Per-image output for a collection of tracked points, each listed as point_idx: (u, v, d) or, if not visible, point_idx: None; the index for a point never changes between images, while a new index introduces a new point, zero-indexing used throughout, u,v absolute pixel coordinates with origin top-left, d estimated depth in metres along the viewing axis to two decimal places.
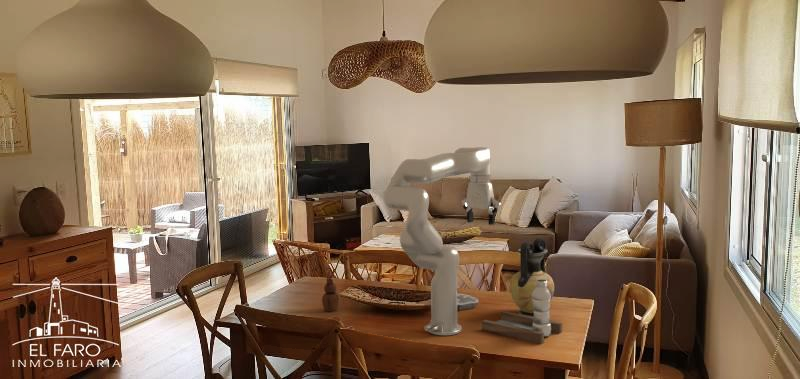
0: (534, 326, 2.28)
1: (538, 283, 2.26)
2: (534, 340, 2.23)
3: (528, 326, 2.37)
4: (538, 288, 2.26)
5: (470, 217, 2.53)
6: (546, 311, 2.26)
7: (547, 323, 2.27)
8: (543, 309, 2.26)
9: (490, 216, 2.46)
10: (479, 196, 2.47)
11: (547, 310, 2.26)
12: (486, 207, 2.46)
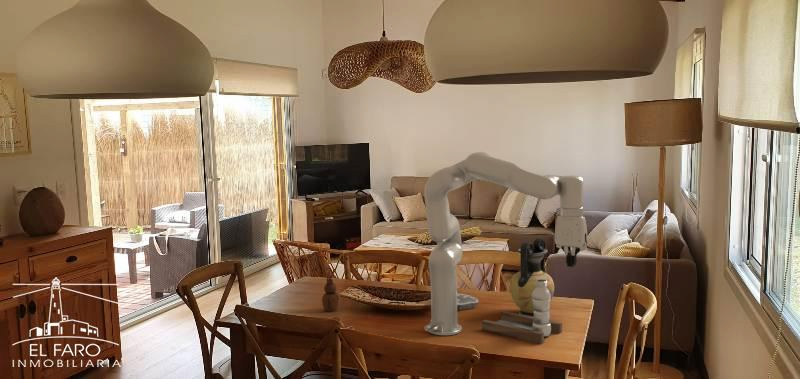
0: (534, 326, 2.28)
1: (538, 283, 2.26)
2: (534, 340, 2.23)
3: (528, 326, 2.37)
4: (538, 288, 2.26)
5: None
6: (546, 311, 2.26)
7: (547, 323, 2.27)
8: (543, 309, 2.26)
9: (571, 257, 2.18)
10: (571, 232, 2.15)
11: (547, 310, 2.26)
12: (579, 245, 2.14)
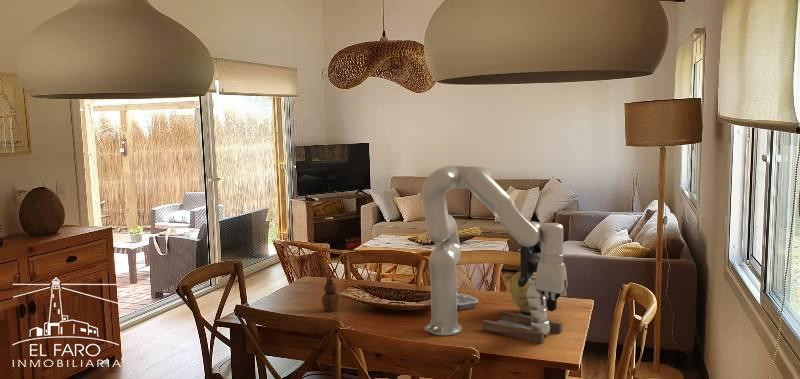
0: (532, 325, 2.28)
1: (531, 281, 2.28)
2: (534, 340, 2.23)
3: (528, 326, 2.37)
4: (531, 286, 2.28)
5: None
6: (542, 308, 2.27)
7: (545, 320, 2.27)
8: (539, 307, 2.27)
9: (552, 302, 2.24)
10: (551, 278, 2.21)
11: (543, 307, 2.27)
12: (559, 291, 2.20)
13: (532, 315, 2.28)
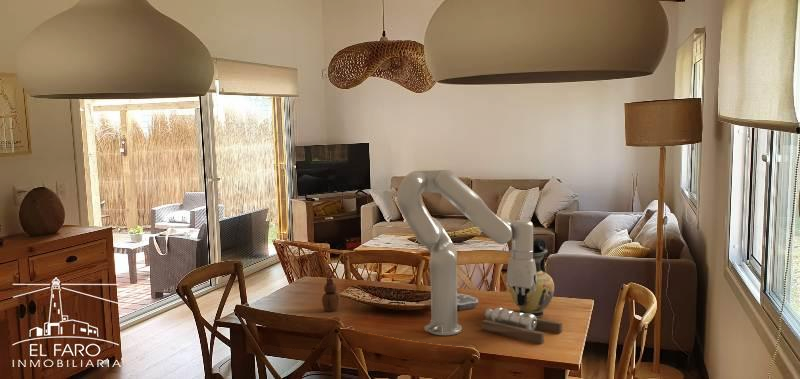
0: (521, 327, 2.31)
1: (486, 315, 2.42)
2: (534, 340, 2.23)
3: None
4: (490, 316, 2.41)
5: None
6: (510, 313, 2.36)
7: (520, 314, 2.33)
8: (507, 315, 2.36)
9: (522, 297, 2.32)
10: (521, 273, 2.29)
11: (510, 312, 2.36)
12: (528, 286, 2.28)
13: (513, 325, 2.34)
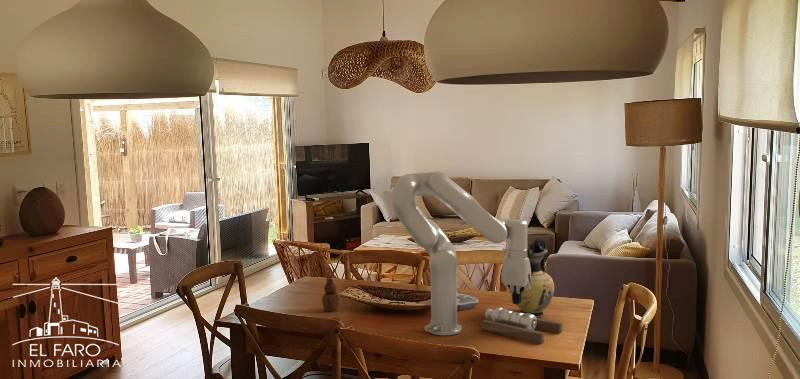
0: None
1: (486, 315, 2.42)
2: (534, 340, 2.23)
3: None
4: (490, 316, 2.41)
5: None
6: (510, 313, 2.36)
7: (520, 315, 2.33)
8: (507, 315, 2.35)
9: (517, 295, 2.33)
10: (516, 272, 2.30)
11: (509, 312, 2.36)
12: (523, 285, 2.29)
13: (513, 325, 2.34)
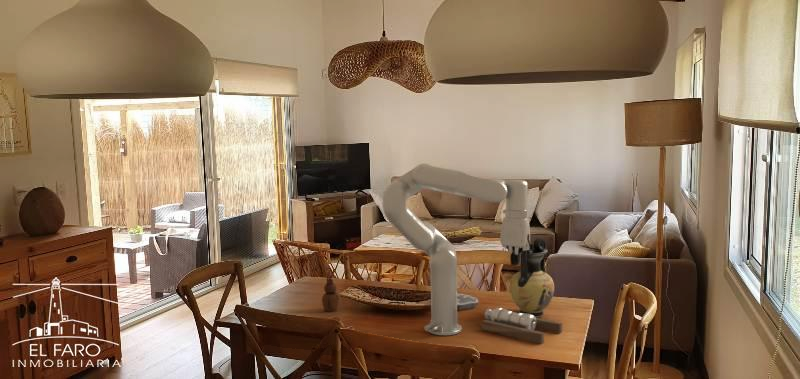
0: None
1: (486, 316, 2.42)
2: (534, 340, 2.23)
3: None
4: (490, 317, 2.41)
5: None
6: (509, 314, 2.35)
7: (519, 315, 2.32)
8: (506, 316, 2.35)
9: (515, 256, 2.31)
10: (515, 232, 2.29)
11: (509, 313, 2.36)
12: (522, 245, 2.28)
13: None
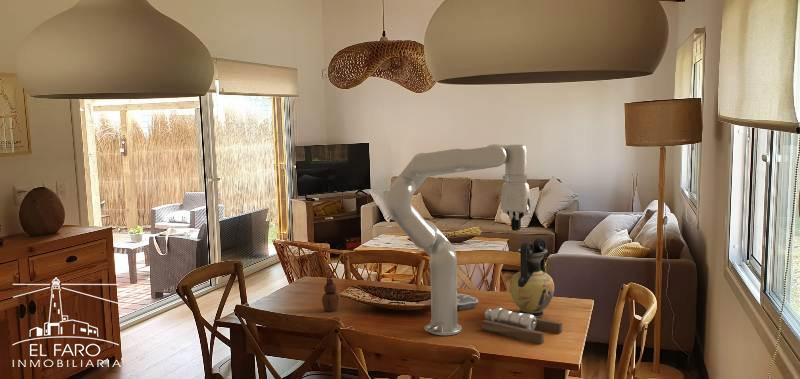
0: None
1: (486, 316, 2.42)
2: (534, 340, 2.23)
3: None
4: (490, 317, 2.41)
5: None
6: (509, 314, 2.35)
7: (519, 315, 2.32)
8: (506, 316, 2.35)
9: (516, 221, 2.30)
10: (515, 197, 2.28)
11: (509, 313, 2.36)
12: (522, 209, 2.26)
13: None
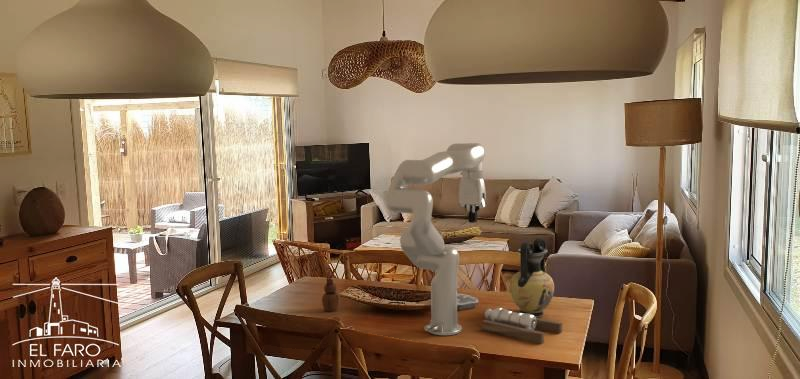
0: None
1: (486, 316, 2.42)
2: (534, 340, 2.23)
3: None
4: (490, 317, 2.41)
5: None
6: (509, 313, 2.35)
7: (520, 315, 2.32)
8: (506, 316, 2.35)
9: (472, 214, 2.50)
10: (471, 192, 2.47)
11: (509, 313, 2.36)
12: (478, 203, 2.46)
13: (513, 325, 2.34)
